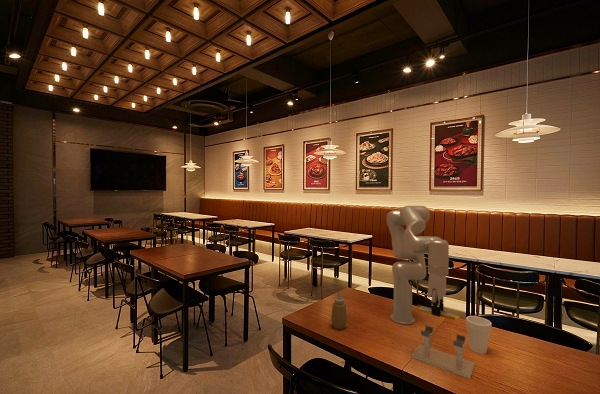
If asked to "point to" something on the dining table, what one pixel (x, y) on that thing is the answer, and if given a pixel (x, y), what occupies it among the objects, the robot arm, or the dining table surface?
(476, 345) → the foam cup
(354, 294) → the dining table surface
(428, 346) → the hook stand
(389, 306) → the dining table surface
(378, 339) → the dining table surface
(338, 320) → the squeeze bottle
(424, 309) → the candy bar
